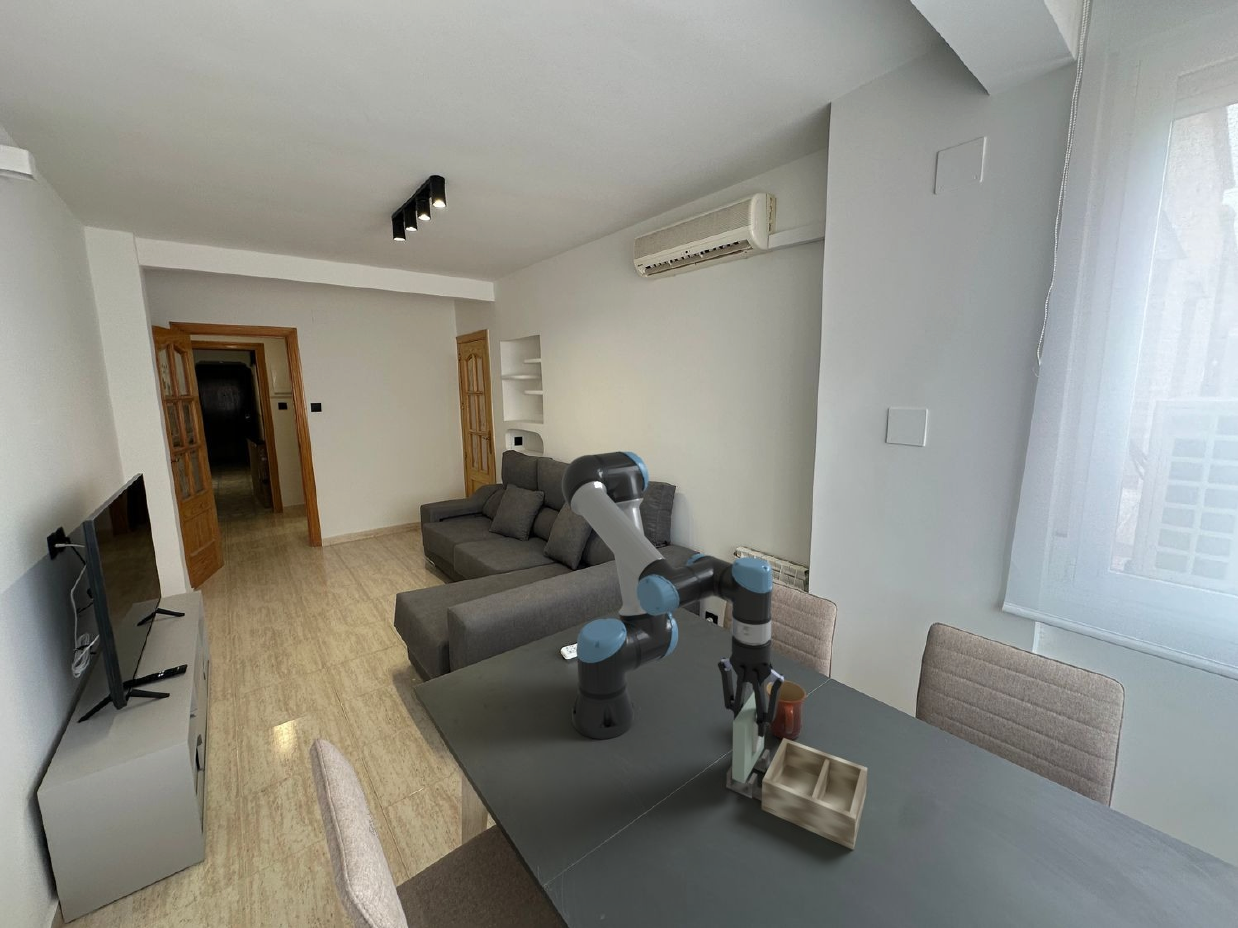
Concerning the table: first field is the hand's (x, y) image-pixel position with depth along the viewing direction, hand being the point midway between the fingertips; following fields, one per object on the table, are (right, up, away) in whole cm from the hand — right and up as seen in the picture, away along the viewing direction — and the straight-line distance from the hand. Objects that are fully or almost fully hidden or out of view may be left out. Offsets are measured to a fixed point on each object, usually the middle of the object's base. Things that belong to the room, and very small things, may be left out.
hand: (749, 745), depth 103 cm
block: (0, -4, 0) cm, 4 cm away
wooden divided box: (+8, -7, -4) cm, 11 cm away
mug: (+11, -5, +13) cm, 18 cm away
